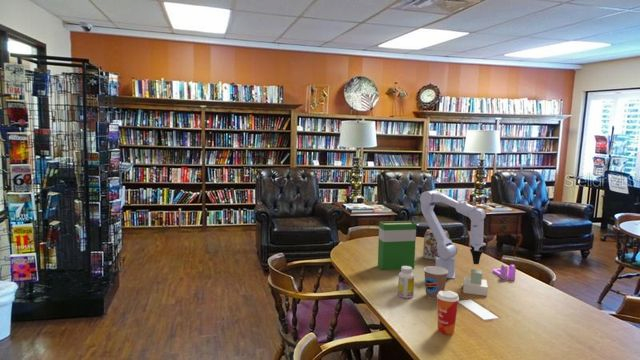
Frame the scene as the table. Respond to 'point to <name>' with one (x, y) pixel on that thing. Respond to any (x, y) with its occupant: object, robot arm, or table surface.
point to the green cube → (476, 276)
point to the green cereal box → (396, 244)
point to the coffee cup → (434, 280)
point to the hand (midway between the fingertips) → (476, 261)
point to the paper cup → (447, 311)
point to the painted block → (475, 287)
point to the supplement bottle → (406, 282)
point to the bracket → (505, 272)
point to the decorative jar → (431, 245)
